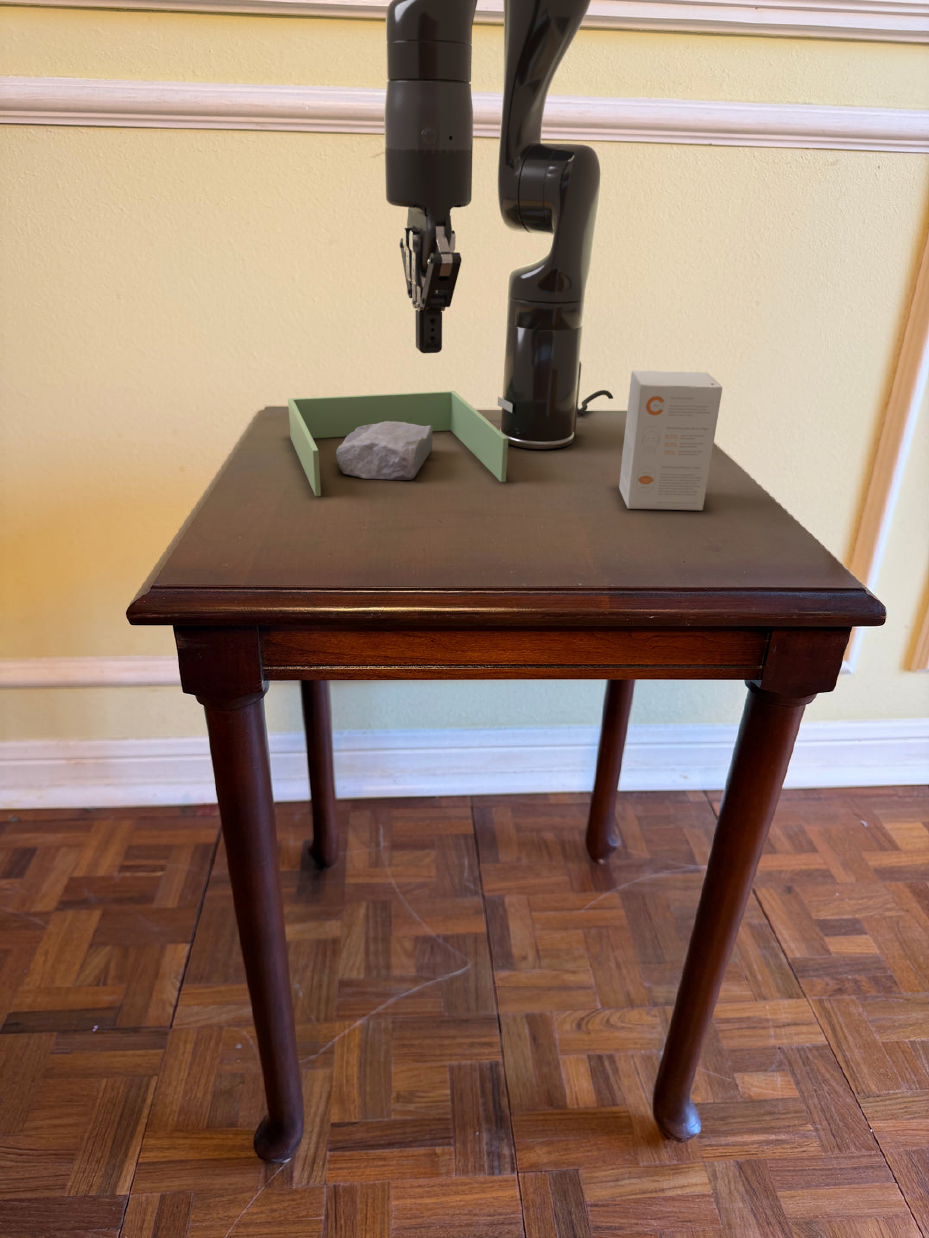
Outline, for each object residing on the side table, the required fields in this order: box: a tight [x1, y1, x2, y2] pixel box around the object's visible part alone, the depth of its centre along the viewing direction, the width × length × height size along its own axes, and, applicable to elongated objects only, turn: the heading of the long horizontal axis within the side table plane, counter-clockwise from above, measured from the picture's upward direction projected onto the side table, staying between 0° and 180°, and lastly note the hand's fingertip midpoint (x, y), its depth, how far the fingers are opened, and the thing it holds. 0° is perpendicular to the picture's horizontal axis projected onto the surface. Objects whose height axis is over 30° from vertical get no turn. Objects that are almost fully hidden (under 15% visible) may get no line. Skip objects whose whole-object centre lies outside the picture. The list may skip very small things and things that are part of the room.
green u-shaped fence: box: [287, 390, 509, 497], centre depth 103 cm, size 21×21×5 cm
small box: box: [618, 370, 723, 511], centre depth 91 cm, size 8×6×13 cm
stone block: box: [335, 421, 434, 481], centre depth 102 cm, size 12×5×10 cm
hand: (428, 351), depth 84 cm, fingers closed
